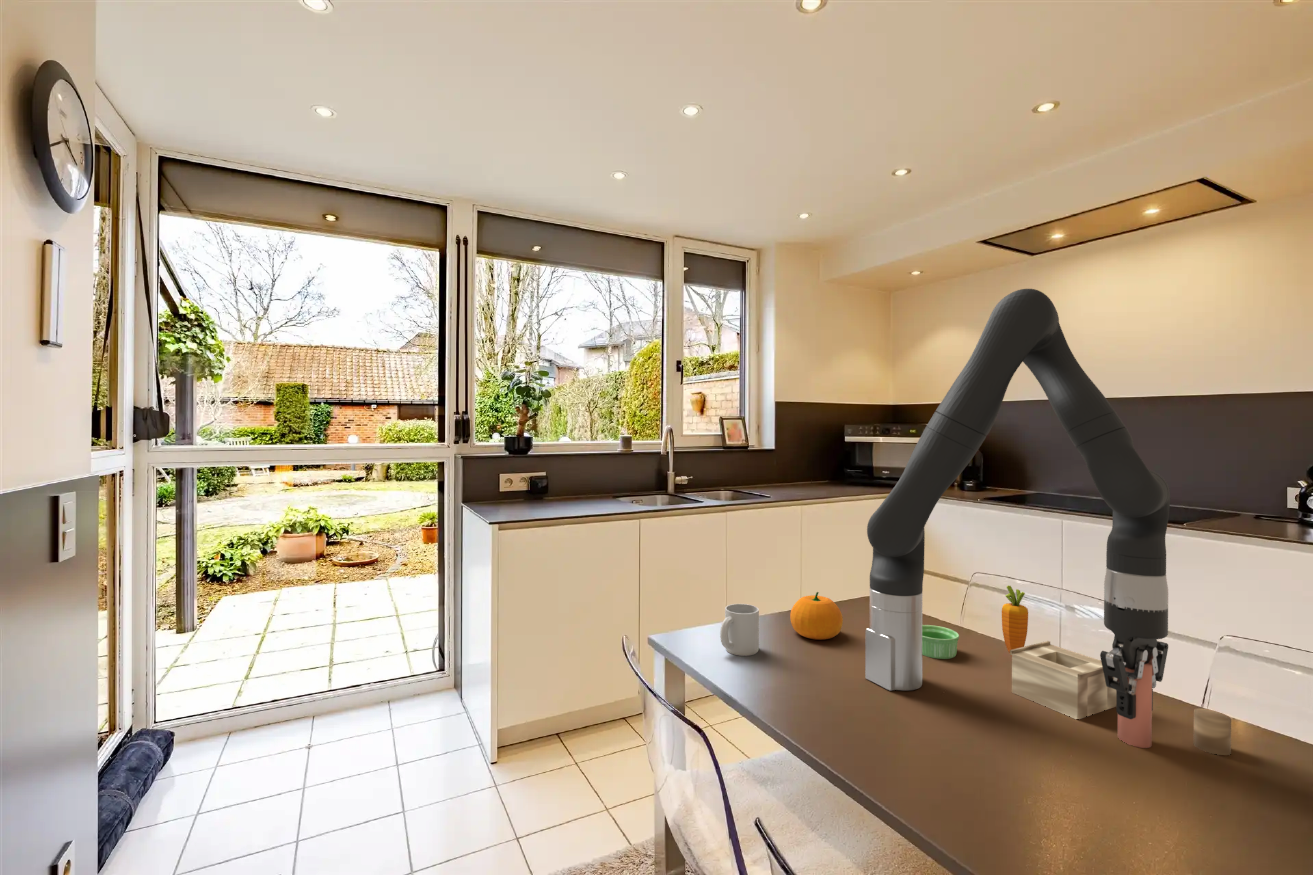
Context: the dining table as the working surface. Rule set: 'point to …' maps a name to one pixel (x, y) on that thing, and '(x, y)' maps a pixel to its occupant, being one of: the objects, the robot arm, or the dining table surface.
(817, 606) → the fruit
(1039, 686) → the hole block
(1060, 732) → the dining table surface
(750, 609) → the cup
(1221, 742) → the short dowel
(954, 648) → the ramekin
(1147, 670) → the long dowel
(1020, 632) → the carrot
